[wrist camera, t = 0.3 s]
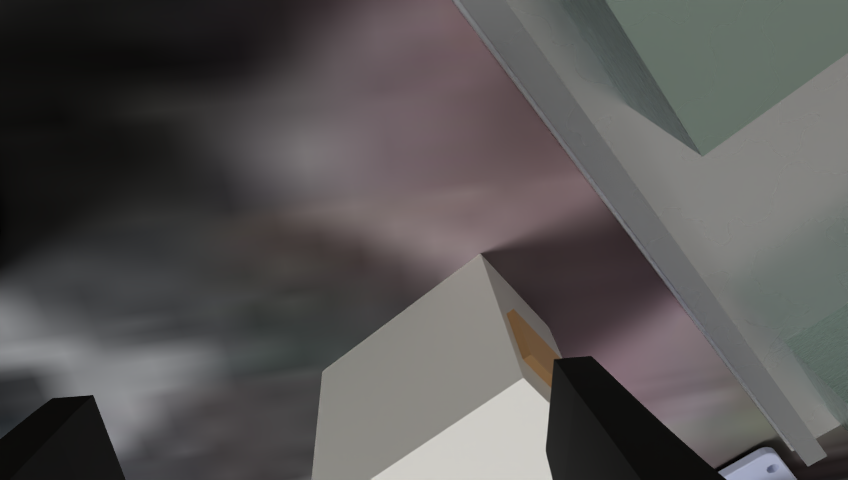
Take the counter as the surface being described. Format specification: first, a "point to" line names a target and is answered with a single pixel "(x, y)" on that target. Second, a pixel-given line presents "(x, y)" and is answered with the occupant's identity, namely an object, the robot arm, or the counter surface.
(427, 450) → the block
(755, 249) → the din panel
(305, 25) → the counter surface
